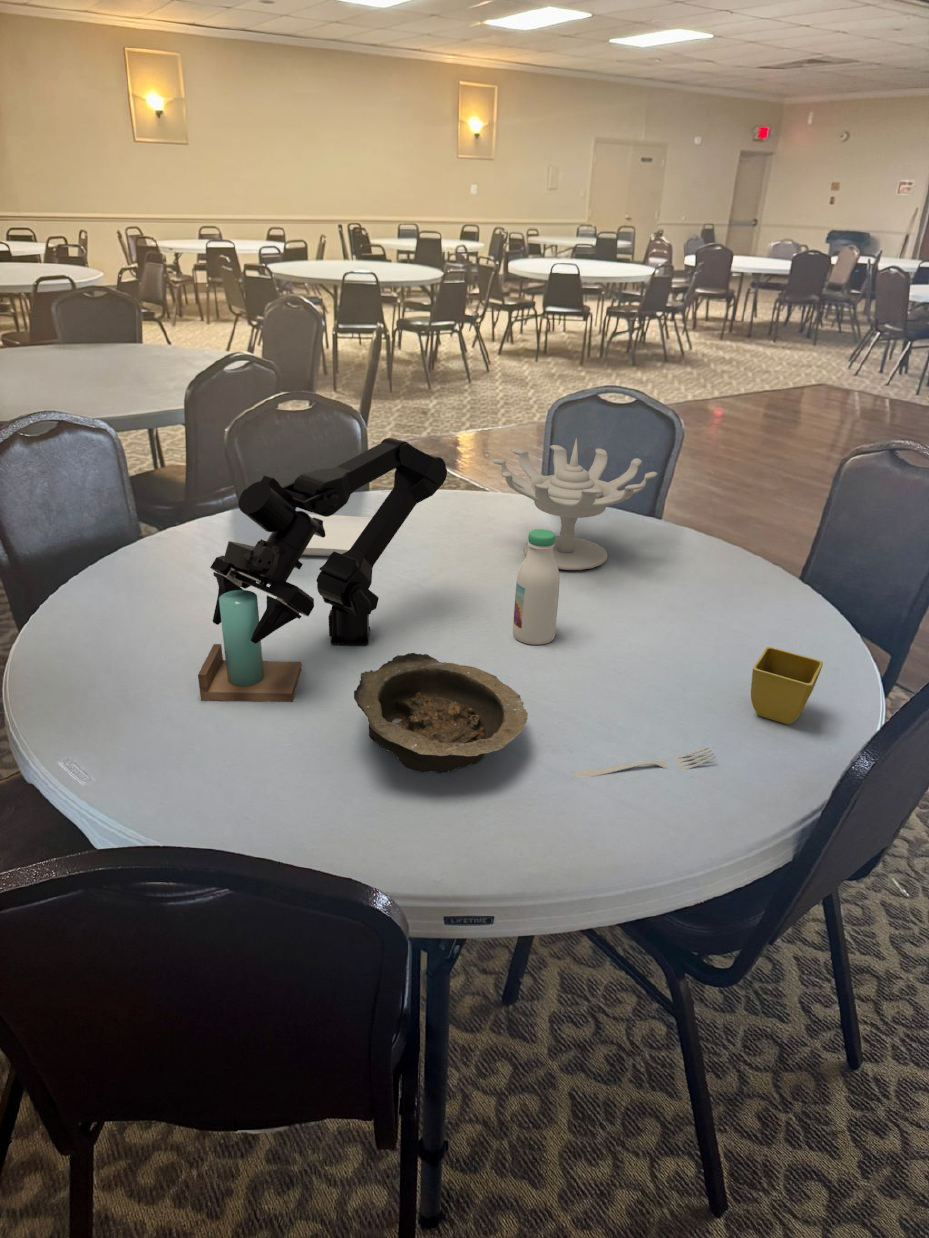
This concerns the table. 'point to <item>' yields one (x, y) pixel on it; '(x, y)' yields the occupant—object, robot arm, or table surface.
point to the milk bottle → (537, 591)
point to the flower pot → (783, 684)
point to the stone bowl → (438, 712)
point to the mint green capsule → (241, 637)
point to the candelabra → (573, 499)
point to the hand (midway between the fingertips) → (233, 632)
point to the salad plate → (336, 534)
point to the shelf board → (272, 688)
